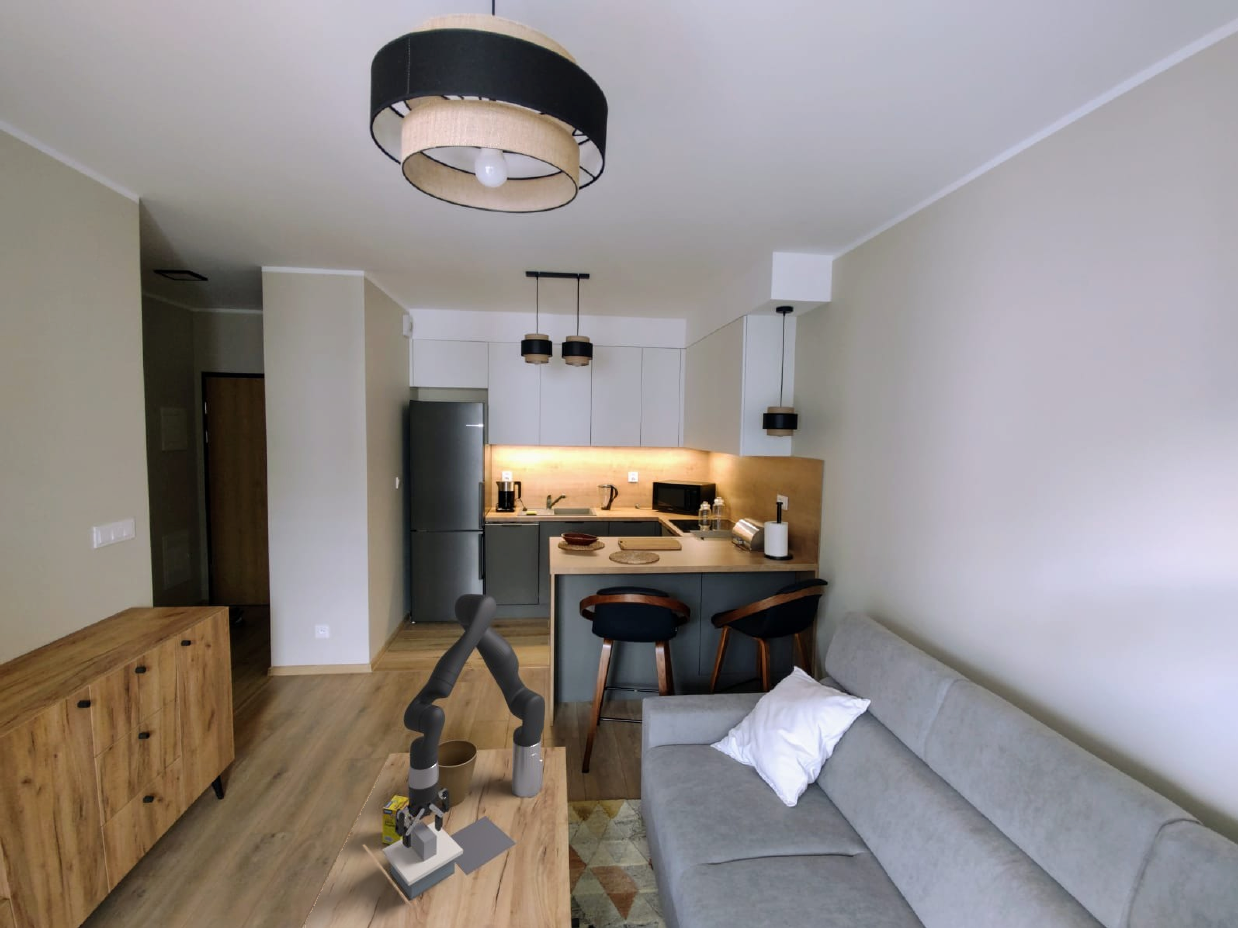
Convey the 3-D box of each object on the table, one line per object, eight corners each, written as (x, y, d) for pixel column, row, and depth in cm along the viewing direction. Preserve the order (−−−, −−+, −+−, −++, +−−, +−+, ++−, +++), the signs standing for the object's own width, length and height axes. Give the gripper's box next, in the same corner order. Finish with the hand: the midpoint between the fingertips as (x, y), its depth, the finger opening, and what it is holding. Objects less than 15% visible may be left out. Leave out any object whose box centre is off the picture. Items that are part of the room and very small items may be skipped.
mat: (485, 817, 167) (485, 815, 167) (516, 845, 156) (516, 843, 156) (437, 844, 156) (437, 842, 156) (467, 877, 145) (467, 874, 145)
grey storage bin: (432, 850, 153) (432, 830, 153) (454, 874, 145) (454, 853, 145) (390, 874, 145) (390, 852, 144) (411, 901, 137) (411, 879, 136)
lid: (435, 824, 155) (435, 804, 155) (463, 853, 145) (463, 831, 145) (382, 852, 144) (382, 831, 144) (408, 885, 134) (409, 862, 134)
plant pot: (425, 819, 166) (426, 768, 165) (430, 788, 180) (431, 741, 179) (476, 813, 169) (477, 763, 168) (477, 783, 184) (477, 737, 183)
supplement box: (400, 848, 154) (400, 811, 153) (381, 845, 155) (381, 807, 154) (412, 833, 160) (412, 797, 159) (394, 830, 161) (394, 794, 160)
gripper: (441, 761, 151) (440, 817, 152) (390, 784, 141) (390, 844, 142) (455, 773, 146) (454, 831, 147) (404, 797, 136) (403, 860, 137)
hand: (422, 837), depth 144 cm, fingers open, 8 cm apart
